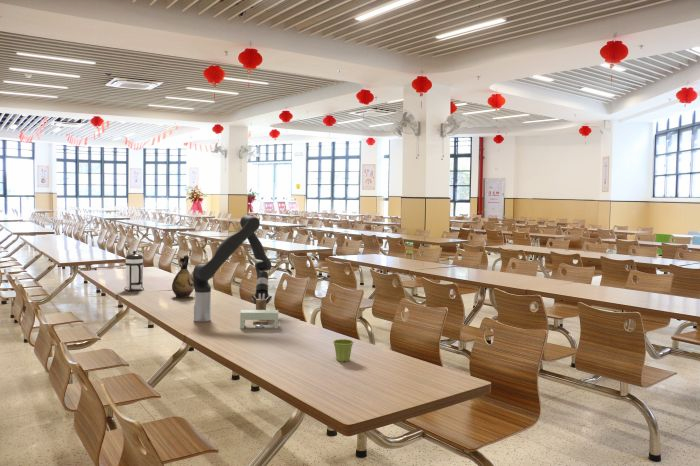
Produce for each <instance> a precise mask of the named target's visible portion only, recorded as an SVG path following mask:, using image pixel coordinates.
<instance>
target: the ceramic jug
mask: <svg viewBox="0 0 700 466" xmlns="http://www.w3.org/2000/svg"><path fill="white" fill-rule="evenodd" d="M189 259H190V256H189V255H187V254H186V255H184V256H183V257H181V258H180V259H179V263H180V264H181V268H180V269H179V271H178V272H177V273H176V275H175V277H174V278H173V281H172V284H171V289H172V292H173V294H174V295H175V298H178V299H187V297H188V298H189V297H190V295H191V294H192V293H193V292H194V291H195V288H194V285H193V275H191V273H190V271H189V269H188V265H189Z"/></svg>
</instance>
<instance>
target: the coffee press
mask: <svg viewBox="0 0 700 466" xmlns="http://www.w3.org/2000/svg"><path fill="white" fill-rule="evenodd" d="M124 258H125V287H124V290H125V291H126V290H128V292H132V291H133V290H141V291H144V290H145V288H144V287H143V285H144V284H143V282H144V281H143V280H144V279H143V277H144V275H143V274H144V273H143V271H144V270H143V268H144V261H143V260H144V257H143V255H141V254H140V253H137V251H136V250H133V251H132V253H129V254H127V255H125V257H124Z"/></svg>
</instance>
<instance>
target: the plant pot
mask: <svg viewBox="0 0 700 466" xmlns="http://www.w3.org/2000/svg"><path fill="white" fill-rule="evenodd" d="M332 342H333V345H334V351H335V359H336V361H337V362H339V363H343V362H349V361H350V360H351V354H352V347H353V344H355V342H354V341H353V340H351V339H345V338H341V339H340V338H339V339H335V340H333V341H332Z"/></svg>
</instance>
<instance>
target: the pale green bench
mask: <svg viewBox="0 0 700 466" xmlns="http://www.w3.org/2000/svg"><path fill="white" fill-rule="evenodd" d="M239 315H240V317H239V318H240V319H239V321H240V322H239V329H240V330H242V329H245V326H246V325H245V324H246V322H245V321H248V320H249V321H253V320H267V321H274V322H273V323H274V326H273V327H274V329H276V330H277V329H279V309H266V310H256V309H241V310H240V313H239Z"/></svg>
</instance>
